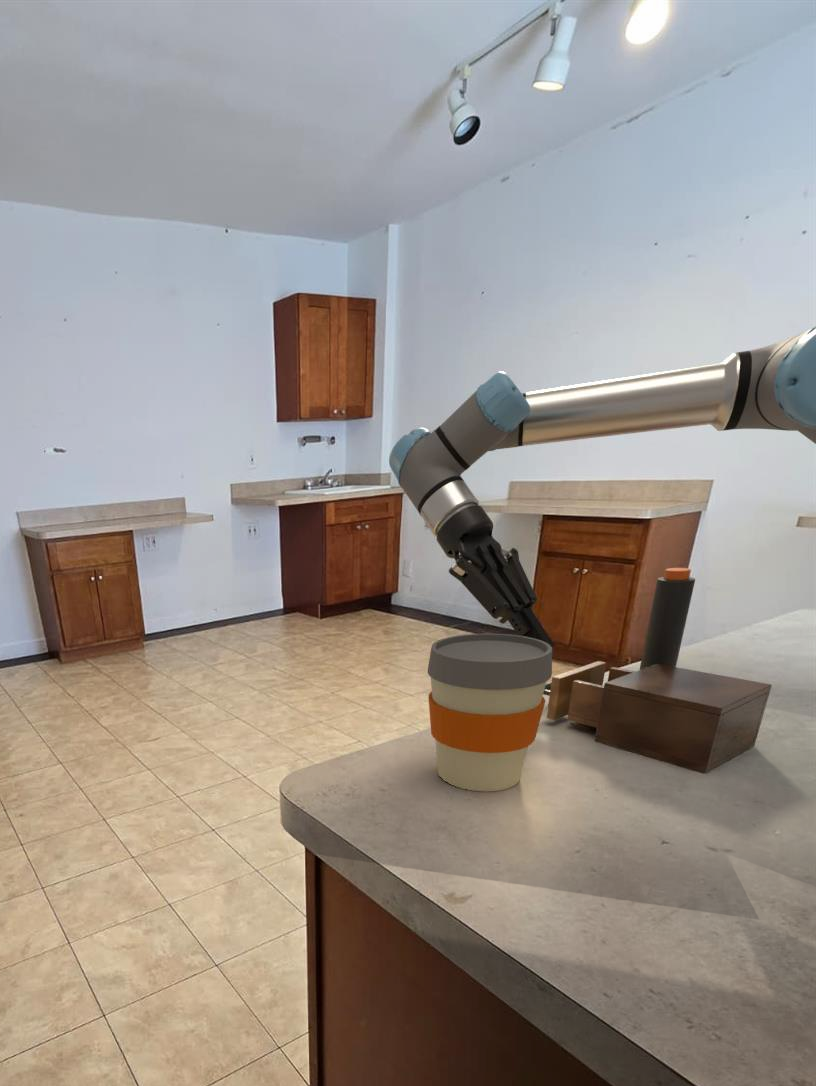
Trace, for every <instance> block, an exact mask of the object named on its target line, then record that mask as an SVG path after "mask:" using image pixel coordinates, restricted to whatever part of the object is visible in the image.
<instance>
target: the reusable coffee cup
mask: <svg viewBox="0 0 816 1086" xmlns="http://www.w3.org/2000/svg"><path fill="white" fill-rule="evenodd" d="M426 672H427V675H428V676H429V677H430V685H431V691H430V692H429V693H428V709H429V710H428V711H429V721H430V734H431V736H432V738H433V739H434V740H435V752H436V765H437V774H438V777H439V776H440V777H441V778H442V779H443V780H444V782H445V781H446V782H448V783H449V785H450V784H451V785H450V786H452V785H454V786H453V787H455V786H456V788H458V787H459V788H458V789H462V790H466V789H467V791H471V792H472V791H474V792H497V791H498V792H499V791H503V790H507V789H510V788H513V787H514V786H516V785H517V784H518V783H519V782H520V779H521V775H522V772H523V768H524V765H525V761H526V756H527V753H528V749H529V747H530V746H531V745H532V744H533V743H534V742H535V740H536V736H537V733H538V729H539V726H540V722H541V719H542V715H543V712H544V708H545V705H546V699H545V697H544V695H543V693H544V689H545V685H546V683H548V682H549V680H550V679H552V677H553V675H552V674H553V647H551V645H549V644H548V643H546V642H544V641H541V640H538V639H535V638H530V637H525V636H518V635H517V634H510V633H509V634H507V633H470V634H460V635H453V636H449V637H448V636H447V637H444V638H442V639H439V640H437V641H434V642H433V643H432V645H431V648H430V654H429V660H428V665H427V671H426ZM440 777H439V778H440ZM441 778H440V779H441ZM442 779H441V780H442ZM443 780H442V781H443ZM446 782H445V783H446ZM448 783H447V784H448Z"/></svg>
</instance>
